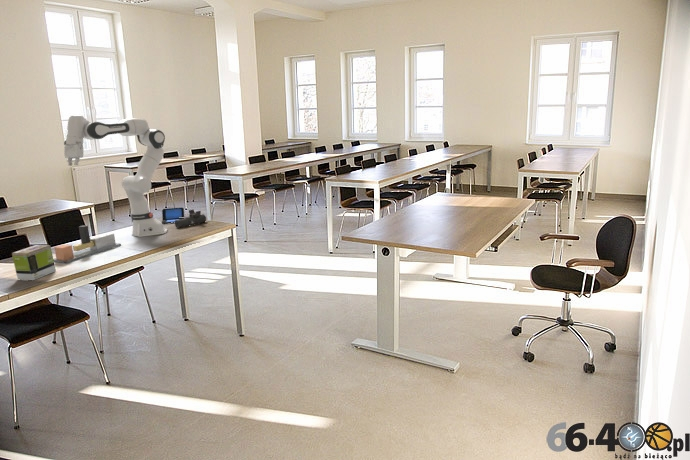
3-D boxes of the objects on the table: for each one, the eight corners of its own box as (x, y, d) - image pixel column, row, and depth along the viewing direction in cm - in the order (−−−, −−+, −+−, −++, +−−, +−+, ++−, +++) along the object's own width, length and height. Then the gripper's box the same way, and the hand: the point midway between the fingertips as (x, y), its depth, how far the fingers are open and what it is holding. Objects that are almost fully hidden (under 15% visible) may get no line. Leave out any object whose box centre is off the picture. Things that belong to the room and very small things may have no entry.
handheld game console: (161, 224, 378) (159, 212, 376) (163, 221, 391) (161, 208, 389) (183, 222, 381) (181, 210, 379) (185, 219, 394) (183, 207, 391)
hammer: (108, 240, 324) (104, 219, 321) (112, 240, 322) (109, 219, 319) (73, 250, 302) (69, 229, 299) (77, 251, 300) (73, 229, 297)
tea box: (41, 270, 278) (36, 244, 275) (56, 271, 275) (51, 244, 272) (16, 280, 264) (10, 252, 261) (32, 281, 261) (26, 252, 258)
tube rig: (107, 244, 328) (105, 231, 326) (121, 245, 323) (119, 232, 321) (52, 261, 295) (49, 247, 293) (66, 263, 290) (64, 248, 288)
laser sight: (173, 227, 366) (171, 213, 364) (201, 221, 382) (200, 208, 380) (181, 229, 360) (179, 215, 357) (209, 223, 375) (207, 209, 373)
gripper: (87, 142, 307) (85, 165, 307) (74, 144, 320) (72, 166, 321) (75, 140, 302) (74, 164, 302) (62, 142, 316) (61, 165, 316)
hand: (73, 165), depth 311 cm, fingers open, 8 cm apart
